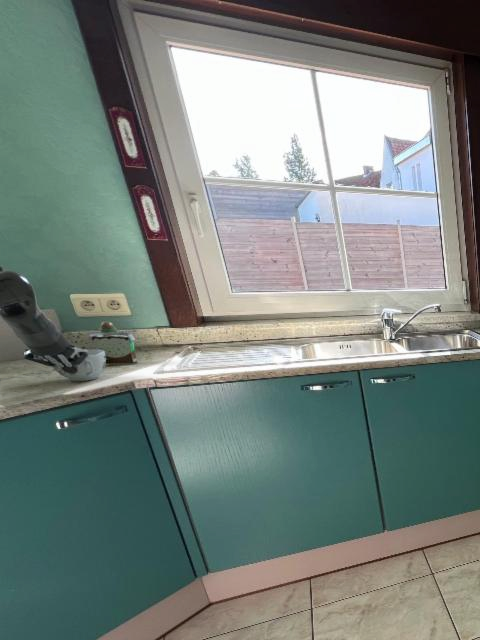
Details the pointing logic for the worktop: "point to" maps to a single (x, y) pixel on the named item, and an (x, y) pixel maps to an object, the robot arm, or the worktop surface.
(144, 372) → the worktop surface
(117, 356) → the food container
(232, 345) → the worktop surface
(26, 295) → the robot arm
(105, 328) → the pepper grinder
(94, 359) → the teacup
